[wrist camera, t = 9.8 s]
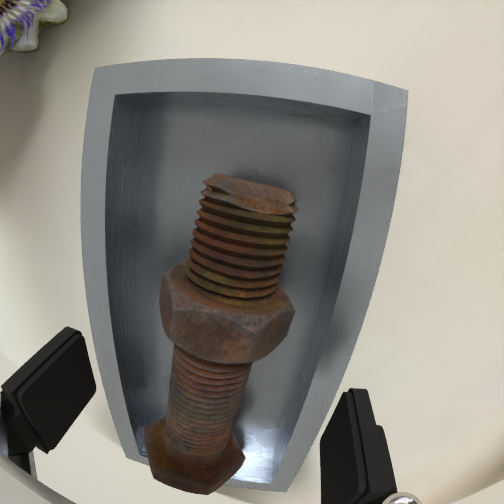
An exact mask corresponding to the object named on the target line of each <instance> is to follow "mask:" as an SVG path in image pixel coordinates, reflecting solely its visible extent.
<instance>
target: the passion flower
mask: <svg viewBox="0 0 504 504" xmlns="http://www.w3.org/2000/svg"><path fill="white" fill-rule="evenodd" d="M67 13H68V11H67V8H66V6H65V5H64V4H63V3H62V2H61V1H60V0H0V56H1V55H2V54H3V53H5V52H16V53H29V52H34V51H37V50H38V49H39V47H38V44H39V38H38V33H39V31H40V30H41V29H42V28H44V27H46V26H48V25H57V24H60V23H63V22H65V21H66V20H67Z"/></svg>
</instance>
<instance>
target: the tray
mask: <svg viewBox="0 0 504 504" xmlns="http://www.w3.org/2000/svg"><path fill="white" fill-rule="evenodd" d="M407 102H408V91H407V90H404V89H401V88H397V87H394V86H391V85H387V84H384V83H381V82H377V81H373V80H370V79H366V78H362V77H358V76H353V75H349V74H345V73H340V72H335V71H330V70H325V69H320V68H314V67H308V66H301V65H294V64H287V63H278V62H269V61H258V60H244V59H221V58H189V59H166V60H152V61H141V62H132V63H124V64H117V65H110V66H104V67H98V68H95V70H94V75H93V80H92V85H91V91H90V97H89V103H88V110H87V117H86V126H85V135H84V145H83V157H82V175H81V239H82V257H83V269H84V280H85V289H86V298H87V305H88V312H89V319H90V325H91V331H92V337H93V342H94V347H95V352H96V357H97V361H98V366H99V370H100V374H101V379H102V383H103V386H104V390H105V394H106V398H107V401H108V405H109V408H110V411H111V415H112V418H113V421H114V424H115V427H116V430H117V433H118V436H119V439H120V442H121V445H122V447H123V450H124V453H125V455H126V457H127V458H129V459H132V460H134V461H137V462H140V463H143V464H146V465H149V461H148V457H147V452H146V448H145V442H144V428H143V427H145V426H147V425H149V424H151V423H153V422H155V421H157V420H159V419H160V418H162V417H164V416H166V413H167V405H168V397H169V390H170V389H169V387H170V384H169V383H170V376H171V367H172V357H173V355H172V354H173V347H174V343H173V342H172V341H170V340H169V338H168V337H167V336H166V334H165V331H164V329H163V326H162V320H161V315H160V306H159V296H160V288H161V280H162V274H164V273H165V272H167V271H169V270H170V269H172V268H173V267H175V266H176V265H178V264H180V263H183V262H187V259H188V258H189V256H190V254H189V248H191V247H193V246H192V244H191V242H190V241H191V240H192V239H193V238H194V237H195V236H194V235H193V234H192V233H193V229H196V228H198V227H197V226H196V225H195V220H196V219H198V218H200V217H199V215H198V214H197V212H196V211H197V210H199V209H201V208H202V206H201V205H200V203H199V200H201V199H203V198H205V197H204V196H203V195H202V194H201V193H200V191H202V190H204V189H206V188H207V187H206V185H205V184H204V183H203V182H202V181H204V180H206V179H208V178H210V177H211V176H212V175H214V174H215V173H219V174H223V175H227V176H231V177H235V178H240V179H244V180H249V181H253V182H257V183H262V184H266V185H270V186H275V187H279V188H283V189H287V190H289V191H290V192H291V194H293V195H294V196H295V198H296V199H297V201H296V202H295V203H294V204H295V205H296V207H297V208H298V209H299V211H298V212H296V213H294V214H293V216H294V217H295V218H296V221H294V222H292V223H291V224H290V225H291V226H292V228H293V231H291V232H290V233H288V236H289V237H290V238H291V239H290V242H288V243H286V244H285V245H286V246H287V248H288V249H287V252H285V253H283V255H284V256H285V260H284V262H282V263H281V264H282V267H283V268H282V270H281V272H279V274H280V277H279V280H278V281H277V283H278V284H279V285H280V286H281V287H283V288H284V290H285V292H286V293H287V295H288V296H289V298H290V300H291V303H292V305H293V307H294V309H295V314H294V317H293V320H292V323H291V326H290V328H289V331H288V334H287V336H286V338H285V339H284V340H283V341H282V342H281V343H280V344H279V345H278V346H277V347H276V348H275V349H274V350H273V351H272V352H271V353H270V354H268V355H267V356H266V357H264V358H262V359H260V360H258V361H255V362H253V364H252V366H251V371H250V374H249V377H248V381H247V383H246V387H245V389H244V393H243V396H242V399H241V402H240V404H239V408H238V411H237V413H236V417H235V418H234V421H233V425H232V428H231V429H232V431H233V433H234V435H235V437H236V439H237V441H238V443H239V445H240V447H241V449H242V451H243V453H244V455H245V457H246V459H245V461H244V463H243V465H242V467H241V468H240V469H239V470H238V471H237V472H236V473H235V474H234V475H233V476H232V477H231V478H230V479H229V480H228V481H227V482H225V483H224V484H223V485H229V486H235V487H242V488H249V489H257V490H266V491H276V492H286V491H287V489H288V488H289V486H290V484H291V483H292V481H293V479H294V477H295V476H296V474H297V472H298V470H299V469H300V467H301V465H302V463H303V461H304V459H305V458H306V456H307V454H308V452H309V450H310V448H311V446H312V444H313V442H314V440H315V438H316V436H317V434H318V432H319V430H320V428H321V426H322V424H323V422H324V419H325V417H326V415H327V413H328V411H329V409H330V406H331V404H332V402H333V400H334V397H335V395H336V393H337V390H338V388H339V385H340V383H341V381H342V378H343V376H344V373H345V371H346V368H347V366H348V363H349V360H350V358H351V355H352V352H353V350H354V347H355V344H356V341H357V339H358V336H359V333H360V330H361V327H362V324H363V321H364V318H365V315H366V312H367V309H368V305H369V302H370V299H371V296H372V292H373V289H374V285H375V282H376V278H377V275H378V271H379V267H380V264H381V260H382V256H383V252H384V248H385V244H386V239H387V235H388V231H389V226H390V221H391V217H392V212H393V207H394V202H395V196H396V191H397V185H398V179H399V173H400V166H401V159H402V152H403V144H404V135H405V126H406V115H407ZM149 466H150V465H149Z"/></svg>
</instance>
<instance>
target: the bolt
mask: <svg viewBox="0 0 504 504" xmlns="http://www.w3.org/2000/svg"><path fill="white" fill-rule="evenodd" d="M202 182H203V183H204V184H205V185H206V187H207V188H206V189H204V190H202V191H200V193H201V194H202V195H203V196H204V197H205V198H203V199H201V200H199V203H200V205H201V206H202V208H201V209H199V210H197V211H196V212H197V214H198V215H199V217H200V218H198V219H196V220H195V225H196V226H197V227H198V228H196V229H193V233H192V234H193V235H194V236H195V237H194V238H193V239H192V240H191V241H190V242H191V244H192V246H193V247H191V248H189V254H190V256H189V258H188V259H187V262H183V263H180V264H178V265H176V266H175V267H173V268H172V269H170V270H169V271H167V272H165V273H164V274H162V280H161V288H160V296H159V306H160V315H161V320H162V326H163V329H164V331H165V334H166V336H167V337H168V338H169V340H170V341H172V342H173V343H174V347H173V354H172V355H173V357H172V367H171V376H170V383H169V384H170V387H169V389H170V390H169V397H168V405H167V413H166V416H164V417H162V418H160V419H159V420H157V421H155V422H153V423H151V424H149V425H147V426H145V427H143V428H144V442H145V448H146V452H147V457H148V461H149V465H150V468H151V472H152V475H153V477H154V479H156V480H158V481H160V482H162V483H163V484H166V485H168V486H171V487H173V488H176V489H179V490H182V491H185V492H190V493H195V494H204V495H209V494H210V493H212V492H214V491H215V490H216V489H218V488H219V487H220V486H222V485H223V484H224V483H225V482H227V481H228V480H229V479H230V478H231V477H232V476H233V475H234V474H235V473H236V472H237V471H238V470H239V469H240V468H241V467H242V465H243V463H244V461H245V459H246V457H245V455H244V453H243V451H242V449H241V447H240V445H239V443H238V441H237V439H236V437H235V435H234V433H233V431H232V429H231V428H232V425H233V421H234V418H235V417H236V413H237V411H238V408H239V404H240V402H241V399H242V396H243V393H244V389H245V387H246V383H247V381H248V377H249V374H250V371H251V366H252V364H253V362H255V361H258V360H260V359H262V358H264V357H266V356H267V355H268V354H270V353H271V352H272V351H273V350H274V349H275V348H276V347H277V346H278V345H279V344H280V343H281V342H282V341H283V340H284V339H285V338H286V336H287V334H288V331H289V328H290V326H291V323H292V320H293V317H294V314H295V309H294V307H293V305H292V303H291V300H290V298H289V296H288V295H287V293H286V292H285V290H284V288H283V287H281V286H280V285H279V284H278V283H277V281H278V280H279V277H280V274H279V272H281V270H282V268H283V267H282V264H281V263H282V262H284V260H285V256H284V255H283V253H285V252H287V249H288V248H287V246H286V245H285V244H286V243H288V242H290V239H291V238H290V237H289V236H288V233H290V232H291V231H293V228H292V226H291V225H290V224H291V223H292V222H294V221H296V218H295V217H294V216H293V214H294V213H296V212H298V211H299V209H298V208H297V207H296V205H295V204H294V203H295V202H296V201H297V199H296V198H295V196H294V195H293V194H291V192H290V191H289V190H287V189H283V188H279V187H275V186H270V185H266V184H262V183H257V182H253V181H249V180H244V179H240V178H235V177H231V176H227V175H223V174H219V173H215V174H214V175H212V176H211V177H210V178H208V179H206V180H204V181H202Z"/></svg>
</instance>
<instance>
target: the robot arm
mask: <svg viewBox="0 0 504 504" xmlns="http://www.w3.org/2000/svg"><path fill="white" fill-rule="evenodd" d="M1 387H2V391H1V392H0V504H76V503H74V502H72V501H70V500H69V499H67V498H65V497H64V496H62V495H60V494H58V493H57V492H55V491H54V490H52V489H50V488H49V487H47V486H46V485H44V484H43V483H41V482H40V481H38V480H37V474H36V468H35V461H34V453H33V449H34V448H35V446H36V447H37V448H38V449H40V450H42V451H43V452H45V453H46V454H48V452H49V451H50V450H53V449H54V448H55V447H56V446H57V444H58V443H59V442H60V440H61V439H62V437H63V436H64V435H65V433H66V432H67V431H68V429H69V428H70V426H71V425H72V424H73V422H74V421H75V420H76V418H77V417H78V416H79V414H80V413H81V411H82V410H83V409H84V407H85V406H86V405H87V403H88V402H89V401H90V399H91V398H92V397H93V395H94V394H95V392H96V383H95V380H94V376H93V372H92V368H91V364H90V360H89V356H88V352H87V347H86V343H85V339H84V337H83V336H82V333H81V332H80V331H78V330H76V329H73V328H70V327H65V328H64V329H63V330H62V331H60V332H59V333H58V334H57V335H56V336H55V337H54V338H52V339H51V340H50V341H49V342H48V343H47V344H46V345H45V346H43V347H42V348H41V349H40V350H39V351H38V352H37V353H36V354H35V355H33V356H32V357H31V358H30V359H29V360H28V361H27V362H26V363H25V364H24V365H23V366H22V367H20V368H19V369H18V370H17V371H16V372H15V373H14V374H13V375H12V376H11V377H10V378H9V379H8V380H7V381H6V382H5V383H4V384H3V385H2V386H1ZM320 467H321V504H422V503H421V501H420V500H419V499H418V498H417V497H416V496H414V495H413V494H410V493H407V492H399V493H398V492H397V487H396V482H395V477H394V472H393V468H392V463H391V459H390V454H389V450H388V446H387V441H386V437H385V433H384V430H383V428H382V426H380V425H376V422H375V418H374V414H373V410H372V406H371V402H370V398H369V394H368V391H367V390H366V389H355V388H350V389H349V390H348V392H343V394H342V396H341V398H340V400H339V402H338V404H337V406H336V409H335V411H334V413H333V415H332V417H331V419H330V421H329V423H328V425H327V427H326V429H325V431H324V433H323V435H322V437H321V440H320Z"/></svg>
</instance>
